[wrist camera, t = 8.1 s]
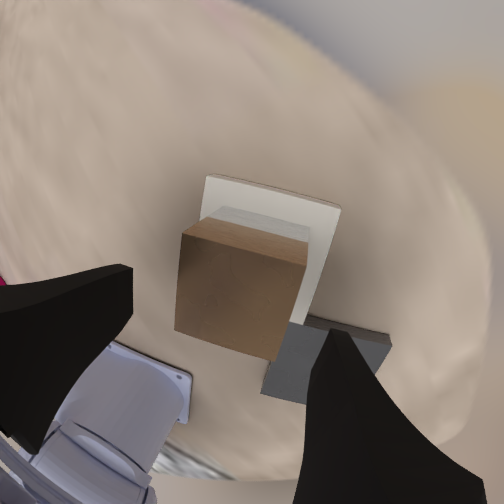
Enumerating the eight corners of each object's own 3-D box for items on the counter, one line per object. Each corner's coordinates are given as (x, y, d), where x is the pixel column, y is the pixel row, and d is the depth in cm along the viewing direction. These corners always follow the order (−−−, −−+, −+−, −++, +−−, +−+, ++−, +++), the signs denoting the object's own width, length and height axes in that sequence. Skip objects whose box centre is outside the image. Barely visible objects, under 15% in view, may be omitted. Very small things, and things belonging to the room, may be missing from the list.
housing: (211, 280, 16) (174, 330, 12) (223, 205, 15) (182, 232, 10) (287, 302, 16) (274, 362, 11) (309, 227, 14) (306, 266, 9)
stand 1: (197, 283, 18) (189, 291, 17) (214, 173, 15) (206, 175, 14) (303, 314, 17) (302, 325, 16) (339, 205, 14) (341, 209, 13)
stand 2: (263, 382, 20) (260, 393, 19) (288, 309, 17) (286, 320, 16) (347, 401, 19) (348, 412, 18) (388, 334, 16) (392, 346, 15)
